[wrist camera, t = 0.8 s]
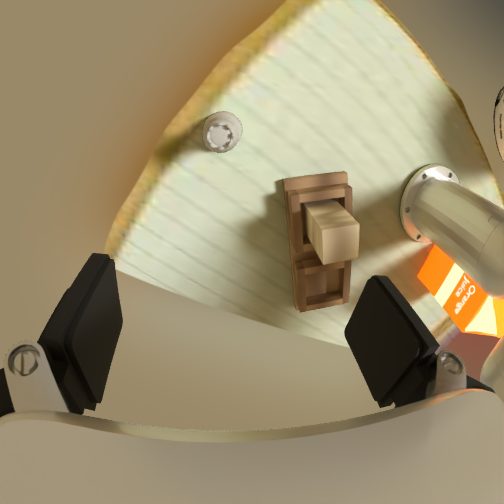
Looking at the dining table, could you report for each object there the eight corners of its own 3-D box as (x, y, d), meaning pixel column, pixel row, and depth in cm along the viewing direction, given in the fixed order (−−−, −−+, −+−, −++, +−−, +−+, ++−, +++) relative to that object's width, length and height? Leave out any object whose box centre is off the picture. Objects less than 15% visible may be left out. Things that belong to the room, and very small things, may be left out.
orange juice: (443, 284, 44) (501, 355, 26) (416, 277, 42) (479, 359, 25) (462, 249, 40) (529, 316, 23) (437, 238, 38) (514, 313, 21)
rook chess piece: (239, 150, 30) (242, 164, 24) (200, 146, 30) (191, 158, 23) (245, 113, 28) (249, 114, 21) (205, 109, 28) (197, 109, 21)
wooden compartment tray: (344, 171, 32) (377, 193, 25) (343, 296, 42) (363, 335, 34) (282, 178, 32) (299, 203, 25) (294, 305, 42) (307, 349, 35)
